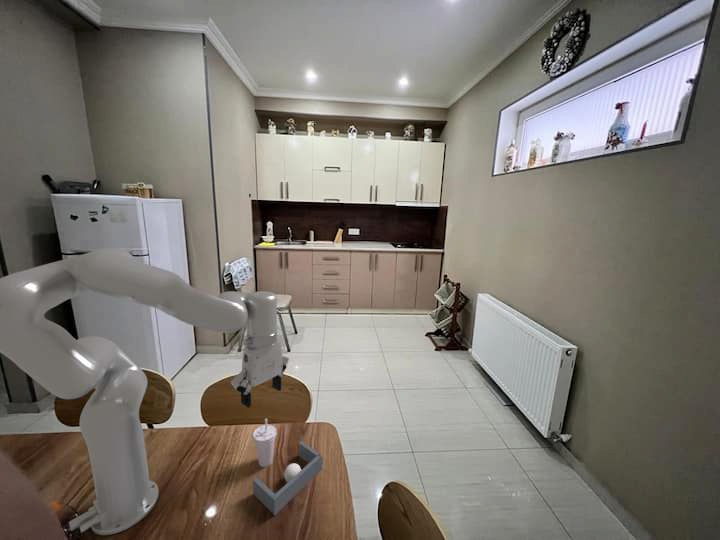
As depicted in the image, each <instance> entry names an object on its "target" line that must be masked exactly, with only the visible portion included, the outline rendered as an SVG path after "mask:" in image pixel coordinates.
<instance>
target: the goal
mask: <svg viewBox="0 0 720 540" xmlns="http://www.w3.org/2000/svg"><path fill="white" fill-rule="evenodd" d="M298 456H299V457H300V458H301V459H302V460H304V461H305V462H306V463H307V464H306V465H305V466H304V467H303V468H302V469H301V471H300V472H299V473H298V474H297V475H296V476H295V477H293V478H292V479H291V480H290V481H289V482H286V484H285V485H283V486H282V487H281V488H280V489H279V490H278V491H277V492H276V493H275V492H273V491H272V490H271V489H270V488H269V487H268V486H267V485H266V484H265V483H264V482H263V481H261V480H260V479H259V478H258V477H257V476H255V478H253V479H252V485H253V486H252V487H253V489H252V491H253V495H254V497H256V499H257V500H258V501H260V503H261V504H262V505H264V507H266V508H267V510H268V511H270V513H271V514H272V515H273V516H276V515H277V514H278V513H279V512H280V511H281V510H282V509H283V508H284V507H285V506H286V505H288V503H289V502H290V501H291V500H292V499H294V497H295V496H297V494H298V493H299V492H300V491H301V490H302V489H304V488H305V487H306V485H308V483H309V482H310V481H312V479H314V478H315V477H316V476H317V474H319V473H320V472H321V471H322V470H323V454H321V453H319V452H318V451H317V450H316V449H314V448H312V447H311V446H310V445H308V444H307V443H306V442H304V441H302V440H301V441H299V442H298Z"/></svg>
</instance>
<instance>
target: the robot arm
mask: <svg viewBox="0 0 720 540" xmlns="http://www.w3.org/2000/svg"><path fill="white" fill-rule="evenodd" d="M91 292H93V293H97V294H102V295H106V296H109V297H112V298H116V299H121V300H125V301H128V302H132V303H136V304H140V305H144V306H146V307H151V308H154V309H157V310H159V311H161V312H163V313H164V314H166V315H168V316H170V317H172V318H175V319H177V320H179V321H181V322H183V323H185V324H188V325H191V326H194V327H197V328H200V329H204V330H209V331H212V332H215V333H216V332H217V333H224V334H228V333H229V334H230V333H235V332H237V331H239V330H241V329H242V328H243V327H244V326H245V325H246V338H245V339H243V340H242V344H243V345H244V349H243V354H242V360H241V361H242V362H241V364H242V365H241V371H240V372H239V373H238V374H237V375H236V376H235V377H233V379H232V380H231V381H230V384H231V385H232V387H233V388H234V389H235V390H236V391H237V392H239V393H240V402H241V404H242V405H244V406H245V407H246V408H247V409H249V408H251V406H252V398H251V397H252V393H251V389H252V387H257V386H259V385H261V384H263V383H265V382H267V381H270V380H271V379H272V383H271V384H272V386H271V387H272V388H274V389H275V390H276V391H278V392H281V391H282V378H283V376H284V374H285V373H284V372H285V370H286V369H287V366H288V363H289V360H290V358H289V357H286V356H284V355H283V352H282V347H281V342H280V340H279V338H278V336H277V335H278V333H277V332H278V326H277V325H278V298H277V295H276V294H275V293H274V292H271V291H265V290H263V291H262V290H261V291H255V292H247V291H246V292H245V291H232V290H231V291H224V292H222V293H220V294H218V295H217V296H215V295H212V294H208V293H205V292H204V291H201V290H199V289H196V288H195V287H194V286H192V285H190V284H189V283H188V282H186V280H184V279H183V277H181V276H180V275H179V274H177V273H175V272H173V271H170V270H168V269H163V268H161V267H157V266H155V265H151V264H147V263H144V262H141V261H138V260H136V259H135V257H134V256H133V255H132V254H131V253H130V252H129V251H127V250H125V249H122V248H120V247H115V246H110V247H109V246H108V247H102V248H100V249H96V250H93V251H90V252H87V253H83V254H80V255H79V254H78V255H77V256H73V257H69V258H65V259H62V260H57V261H53V262H50V263H46V264H45V263H44V264H42V265H38V266H35V267H32V268H28V269H26V270H22V271H21V270H20V271H17V272H13V273H11V274H9V275H6V276H3V277H1V278H0V353H1V354H2V355H3V356H5V357H6V358H7V359H9V360H10V361H11V362H13V363H14V364H15V365H16V366H17V367H18V368H19V369H20V370H22V371H23V372H24V373H26V374H27V375H28V376H29V377H31V378H32V379H33V380H34V381H35V382H37V384H39V385H40V386H41V387H42V388H44V389H45V390H47V391H48V392H49V393H50V394H52V395H54V396H56V397H57V398H59V399H63V400H74V399H78V398H81V397H83V396H86V395H87V394H88V393H90V392H92V390H94V391H93V393H92V394H91V396H90V397H89V399H88V400H87V402H86V403H85V405H84V407H83V408H82V411H81V413H80V416H79V417H80V418H79V429H80V432H81V434H82V437H83V439H84V441H85V444H86V446H87V451H88V454H89V461H90V462H89V463H90V465H91V472H92V473H91V474H92V478H93V484H94V490H95V497H96V499H94V500H93V502H92V503H93V505H92V506H91V507H89V508H88V511H86V512H83V514H81V515H79V516H77V517H75V518H74V519H72V520H70V521H69V522H68V525H69V528H70V532H72V531H74V530H76V529H77V528H79V530H80V533H81V534H82V533H84V532H85V531H87V530H88V529H91V530H92V532H93V533H94V534H96V535H100V536H109V535H114V534H117V533H118V534H119V533H120V532H123V531H125V530H127V529H129V528H131V527H132V526H134V525H136V524H137V523H139V522H140V521H141V520H143V518H144V517H146V516H147V515H148V514H149V512H151V510H152V509H153V508H154V507H155V505H156V503H157V501H158V499H159V494H160V493H159V487H158V484H157V483H156V482H155V481H153V480H150V474H149V468H148V466H149V465H148V459H147V458H148V457H147V449H146V442H145V435H144V434H145V433H144V429H143V426H142V423H141V420H140V407H141V405H142V402H143V398H144V396H145V394H146V391H147V387H148V378H147V375H146V374H145V372H144V371H143V370H142V369H141V367H139V365H138V364H136V363H135V362H134V361H133V359H131V358H130V357H129V356H128V355H127V353H125V352H124V351H123V350H122V349H121V348H120V347H119V346H118V345H117V344H116V343H115V342H114V341H111V340H110V339H108V338H104V337H102V336H95V335H94V336H93V335H92V336H91V335H89V336H84V337H81V338H78V339H76V338H74V337H73V336H72V334H71V333H70V332H68V331H67V329H65V328H64V327H62V326H61V325H59V324H57V323H55V322H53V321H51V320H48V319H47V318H46V317H45V314H46V313H48V311H49V310H51V309H53V308H55V307H58V306H59V305H60V304H62V303H64V302H66V301H67V300H69V299H73V298H76V297H79V296H83V295H84V294H89V293H91ZM241 381H242V382H241ZM240 383H241V384H240Z"/></svg>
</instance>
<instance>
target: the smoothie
mask: <svg viewBox="0 0 720 540" xmlns="http://www.w3.org/2000/svg"><path fill="white" fill-rule="evenodd" d="M276 436H277V428H276V427H275V426H274V425H273V424H268V418H265V419H264V424H263V425H261V426H259V427H256V428H255V429H254V431H253V433H252V440H253V442H254V446H255V451H256V455H257V460H258V461H257V462H258V465H259V466H260V467H261V468H267V467H269V466H271V464H272V463H273V457H274V449H275V439H276Z"/></svg>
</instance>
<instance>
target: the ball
mask: <svg viewBox="0 0 720 540" xmlns="http://www.w3.org/2000/svg"><path fill="white" fill-rule="evenodd" d="M301 470H302V469H301V466H300V465H299V464H298V463H294V462H293V463H290V464H289V465H288V466H286V468H285V470H284V475H283V476H284V479H285V482H286V483H288V482H289V481H290V480H291V479H292V478H293V477H295V476H296V475H297V474H298V473H299V472H300V471H301Z"/></svg>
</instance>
